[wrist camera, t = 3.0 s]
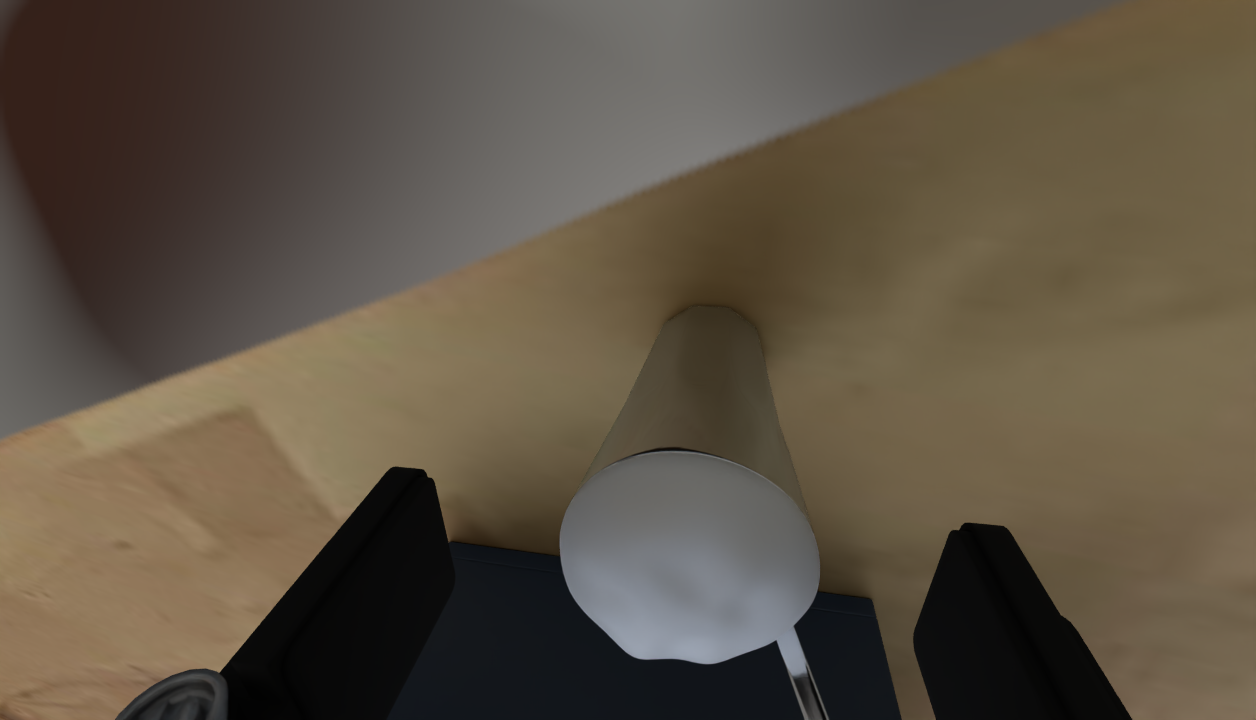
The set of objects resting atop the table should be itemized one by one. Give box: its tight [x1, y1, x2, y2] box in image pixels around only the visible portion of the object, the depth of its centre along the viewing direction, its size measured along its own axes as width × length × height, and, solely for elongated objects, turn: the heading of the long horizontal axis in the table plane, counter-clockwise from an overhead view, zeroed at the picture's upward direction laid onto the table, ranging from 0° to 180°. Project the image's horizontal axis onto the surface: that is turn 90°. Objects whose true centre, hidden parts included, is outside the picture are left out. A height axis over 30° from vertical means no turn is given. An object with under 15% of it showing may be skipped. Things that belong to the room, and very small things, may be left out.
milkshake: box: [560, 306, 829, 720], centre depth 12 cm, size 4×5×10 cm
